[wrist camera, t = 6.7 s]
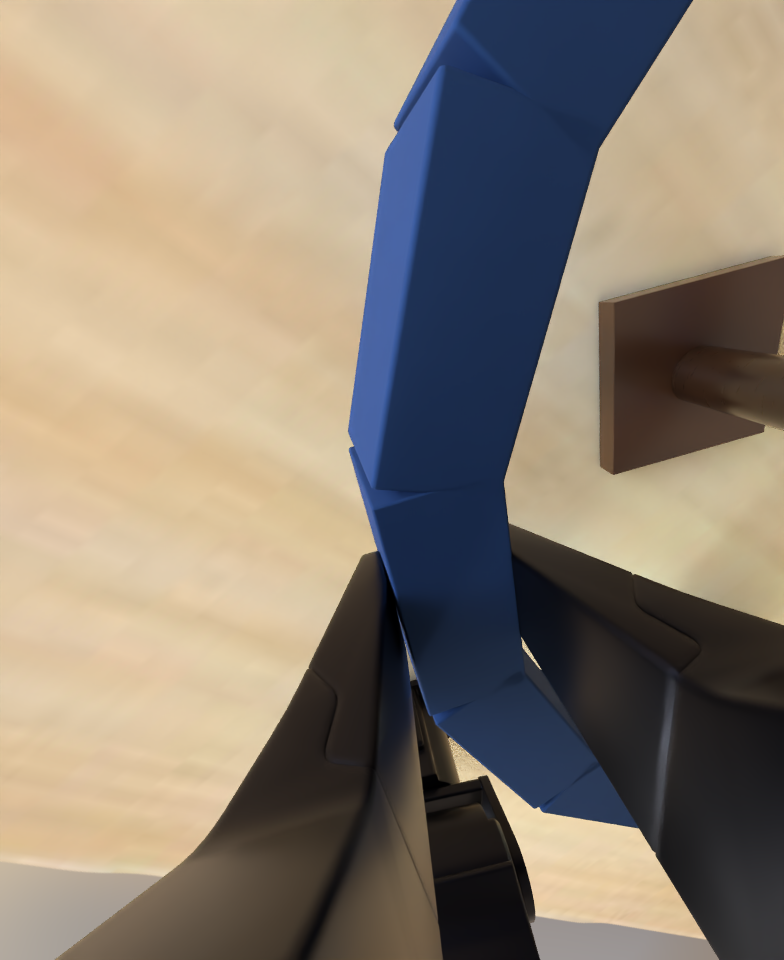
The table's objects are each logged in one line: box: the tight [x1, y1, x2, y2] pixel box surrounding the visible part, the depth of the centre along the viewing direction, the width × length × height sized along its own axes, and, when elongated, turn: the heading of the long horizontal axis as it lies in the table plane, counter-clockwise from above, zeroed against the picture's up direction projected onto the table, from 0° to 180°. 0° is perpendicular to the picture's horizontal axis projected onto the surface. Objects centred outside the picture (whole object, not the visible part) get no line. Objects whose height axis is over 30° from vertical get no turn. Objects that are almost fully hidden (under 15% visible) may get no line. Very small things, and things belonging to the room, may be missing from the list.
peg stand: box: [599, 255, 784, 475], centre depth 19 cm, size 9×9×8 cm
